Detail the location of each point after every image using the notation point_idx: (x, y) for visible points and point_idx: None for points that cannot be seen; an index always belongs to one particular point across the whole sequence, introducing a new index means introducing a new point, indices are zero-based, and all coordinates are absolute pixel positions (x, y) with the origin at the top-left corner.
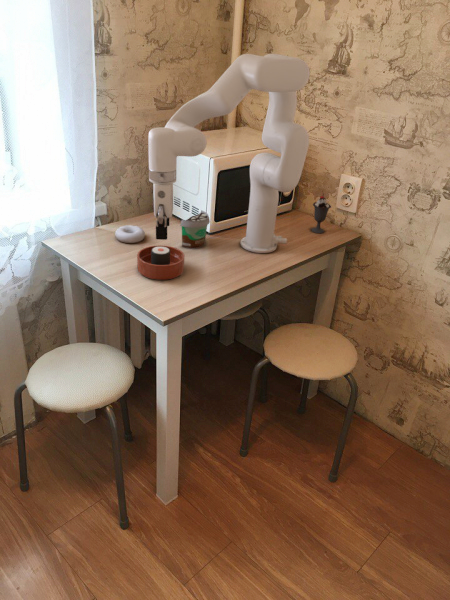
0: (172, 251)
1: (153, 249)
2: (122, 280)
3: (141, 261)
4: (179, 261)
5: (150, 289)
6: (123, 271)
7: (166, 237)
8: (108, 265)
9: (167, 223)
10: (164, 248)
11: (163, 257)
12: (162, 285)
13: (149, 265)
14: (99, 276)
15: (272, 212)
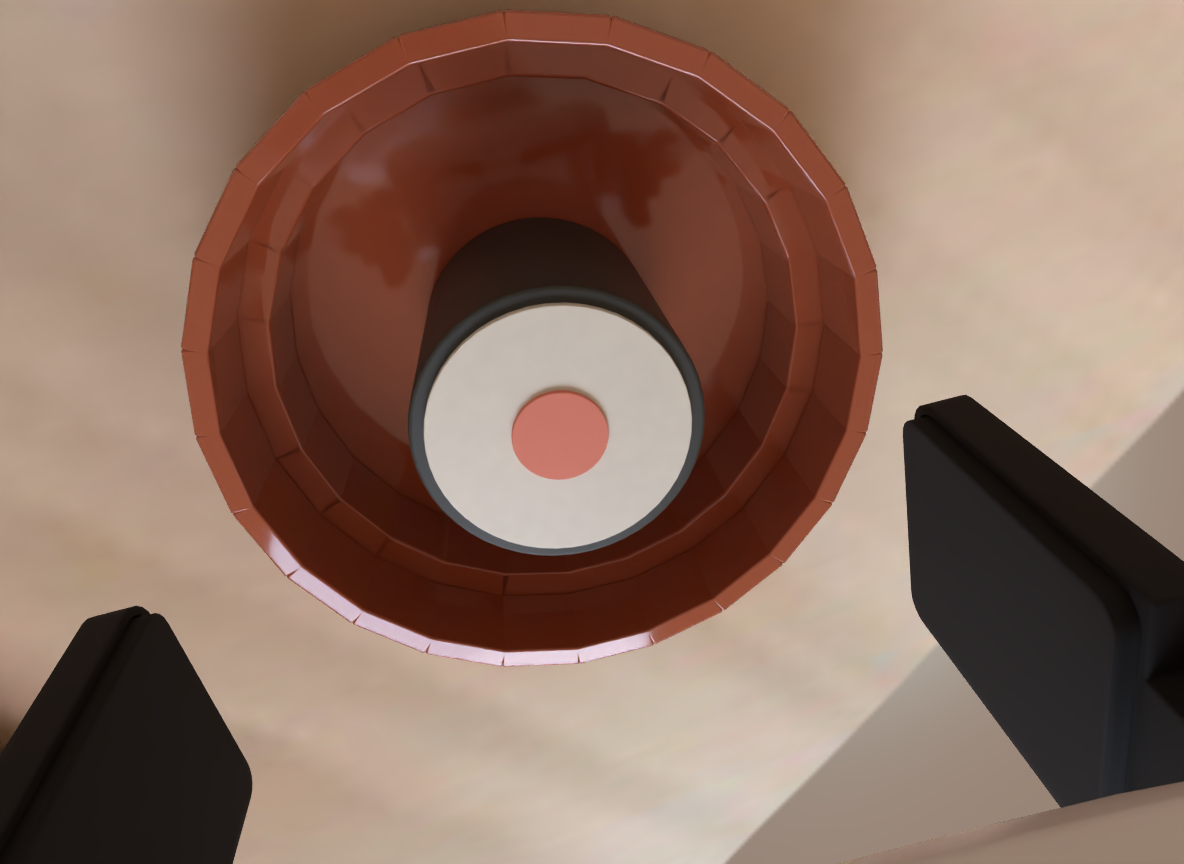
0: (230, 298)
1: (582, 531)
2: (859, 573)
3: (789, 549)
4: (668, 57)
5: (996, 279)
6: (686, 629)
7: (987, 424)
8: (613, 767)
9: (147, 676)
10: (482, 401)
11: (674, 331)
12: (892, 183)
13: (858, 432)
14: (827, 745)
15: None
